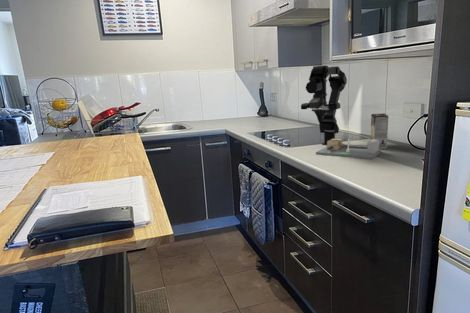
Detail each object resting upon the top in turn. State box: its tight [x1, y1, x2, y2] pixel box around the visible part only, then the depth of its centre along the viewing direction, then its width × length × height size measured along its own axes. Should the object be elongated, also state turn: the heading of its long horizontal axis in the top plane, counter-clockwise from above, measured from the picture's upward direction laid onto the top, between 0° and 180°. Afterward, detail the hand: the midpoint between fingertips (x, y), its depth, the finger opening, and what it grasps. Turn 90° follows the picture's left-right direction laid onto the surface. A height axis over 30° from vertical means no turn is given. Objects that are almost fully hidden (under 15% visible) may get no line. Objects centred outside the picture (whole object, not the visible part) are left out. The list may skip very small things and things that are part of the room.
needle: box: [346, 137, 350, 152], centre depth 151 cm, size 2×1×6 cm, turn 143°
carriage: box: [326, 138, 343, 150], centre depth 161 cm, size 12×5×4 cm, turn 143°
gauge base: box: [315, 139, 382, 160], centre depth 157 cm, size 15×26×6 cm, turn 53°
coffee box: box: [370, 112, 389, 150], centre depth 164 cm, size 9×6×16 cm
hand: (320, 123), depth 168 cm, fingers closed
